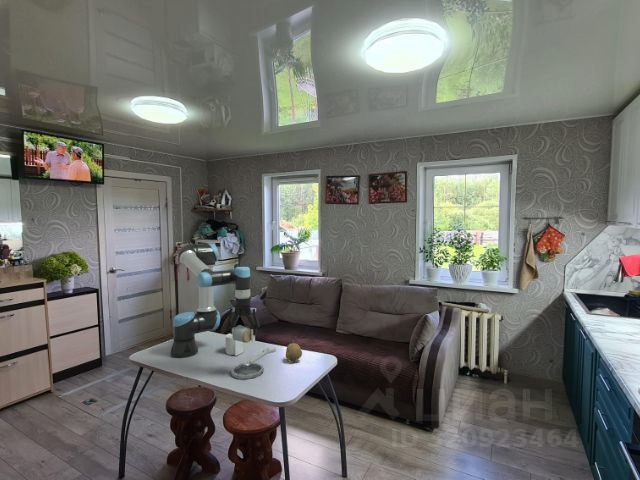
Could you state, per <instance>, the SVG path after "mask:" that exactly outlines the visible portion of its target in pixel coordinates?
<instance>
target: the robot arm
mask: <svg viewBox="0 0 640 480" xmlns="http://www.w3.org/2000/svg"><path fill="white" fill-rule="evenodd" d="M219 253H220V252H219V249H218V247H217V245H216V244H214V243H209V242H206V243H205V242H204V243H188V244H185V245H183V246H182V247H181V248H180V249H179V250H178V252H177V260H178V262H179V264H180V265H182V266H184V267H187V268H188V269H189V271H191V272H192V274H194V275H195V276H196V281H197V282H196V283H197V284H198V308H196V313H195V312H193V311H187V312H186V311H185V312H181V313H178V314H176V315H175V316H174V318H173V323H172V326H173V328H172V329H173V330H172V334H173V343H172V345H171V348H170V353H169V354H170V357H172V358H176V359H184V358H190V357H194V356H195V355H196V354H198V352H199V346H198V344H197V342H196V337H195V336H196V334H200V333H205V332H211V331H213V330H214V331H215V330H216V329H218V328H219V326H220V322H221V314H220V312H219V310H218V309H217V308H216V307H215V306H214V305H215V304H214V302H215V301H214V298H215V297H214V287H218V286H226V285H234V288H235V292H234V293H235V295H234V297H235V301H234V302H235V304H234V305H235V307H233V306H232V307H230V308H229V315H228V319H227V323H226V327H227V328H230V333H231V334H232V341H235V340H234V338H233V330H234V329H235V327H236V324H237V322H238V320H239V318H240V317H242V316H243V317H245V318H246V319H247V320H248V322H249V324H250V326H251V328H250V329H251V343H254V342H255V341H256V335H257V333H258V332H257V329H259V328H260V327H261V323H260V321H259V317H258V314H257V309H258V308H257V307H252V306H251V304H252V303H251V268H250V267H248V266H238V267H235V268H234V269H233V268H228V269H226V270H214V267H215V266H216V262H218V261H219V258H220V254H219ZM235 312H236V314H235ZM251 313H252V314H251ZM234 314H235V316H234Z"/></svg>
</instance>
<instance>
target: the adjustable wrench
mask: <svg viewBox="0 0 640 480" xmlns="http://www.w3.org/2000/svg"><path fill="white" fill-rule="evenodd" d="M275 352H276V347H273V348H272V349H271V348H270V347H265V348H264V349H263V350H262V352H261V353H259V354H257V355H256V356H254V357H253V358H251V359H249V360H247V362H246V363H256V362H257V361H259V360H261V359H262V358H264V357H266V355H268V354H272V353H275Z"/></svg>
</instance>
